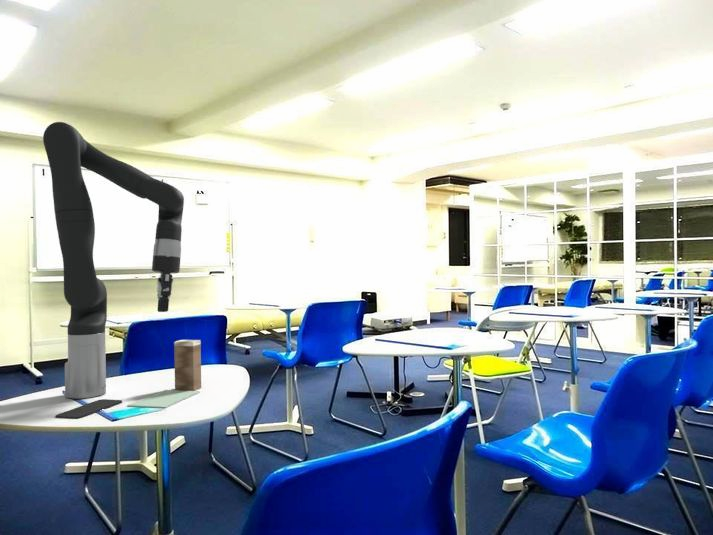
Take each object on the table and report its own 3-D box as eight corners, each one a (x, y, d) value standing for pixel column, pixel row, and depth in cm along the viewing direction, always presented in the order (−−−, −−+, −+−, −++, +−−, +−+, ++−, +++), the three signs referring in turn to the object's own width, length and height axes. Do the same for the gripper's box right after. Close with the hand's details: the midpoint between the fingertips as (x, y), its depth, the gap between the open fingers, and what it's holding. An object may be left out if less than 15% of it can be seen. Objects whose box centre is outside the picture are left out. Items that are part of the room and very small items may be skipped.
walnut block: (174, 390, 138) (174, 341, 139) (182, 387, 142) (182, 339, 142) (193, 391, 137) (193, 341, 137) (201, 387, 141) (200, 339, 141)
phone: (52, 416, 114) (100, 399, 128) (52, 419, 114) (100, 402, 128) (78, 417, 112) (124, 400, 127) (79, 421, 112) (124, 403, 127)
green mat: (127, 406, 122) (127, 405, 122) (165, 391, 138) (165, 389, 138) (165, 408, 120) (165, 406, 120) (199, 392, 136) (199, 391, 136)
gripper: (151, 257, 146) (147, 311, 144) (154, 251, 133) (149, 310, 131) (177, 259, 149) (173, 312, 147) (183, 254, 136) (179, 312, 134)
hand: (162, 311), depth 139 cm, fingers open, 8 cm apart
